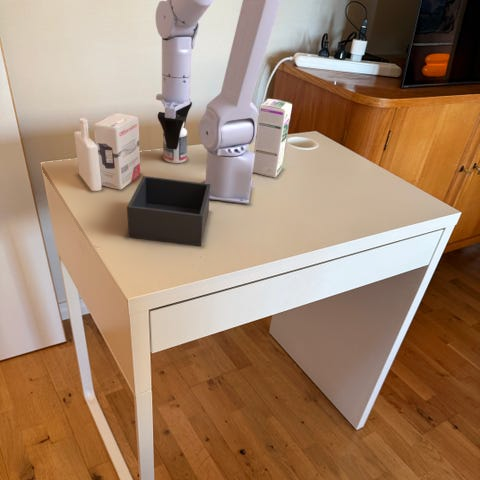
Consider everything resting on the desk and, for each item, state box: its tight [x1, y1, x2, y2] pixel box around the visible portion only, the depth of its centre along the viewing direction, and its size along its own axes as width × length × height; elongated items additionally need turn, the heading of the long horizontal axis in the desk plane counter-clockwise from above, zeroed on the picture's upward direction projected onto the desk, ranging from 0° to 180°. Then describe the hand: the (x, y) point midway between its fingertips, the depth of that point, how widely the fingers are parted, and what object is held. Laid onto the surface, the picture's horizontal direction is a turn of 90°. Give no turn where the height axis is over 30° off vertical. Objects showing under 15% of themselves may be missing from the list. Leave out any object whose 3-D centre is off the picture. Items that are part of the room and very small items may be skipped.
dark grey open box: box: [126, 175, 211, 247], centre depth 79 cm, size 12×12×6 cm
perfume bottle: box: [73, 117, 102, 192], centre depth 86 cm, size 8×2×12 cm, turn 32°
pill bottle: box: [162, 123, 188, 164], centre depth 100 cm, size 5×5×9 cm
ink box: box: [93, 112, 141, 191], centre depth 88 cm, size 8×5×12 cm, turn 162°
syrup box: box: [253, 98, 293, 178], centre depth 99 cm, size 6×6×14 cm
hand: (175, 142), depth 100 cm, fingers open, 7 cm apart
